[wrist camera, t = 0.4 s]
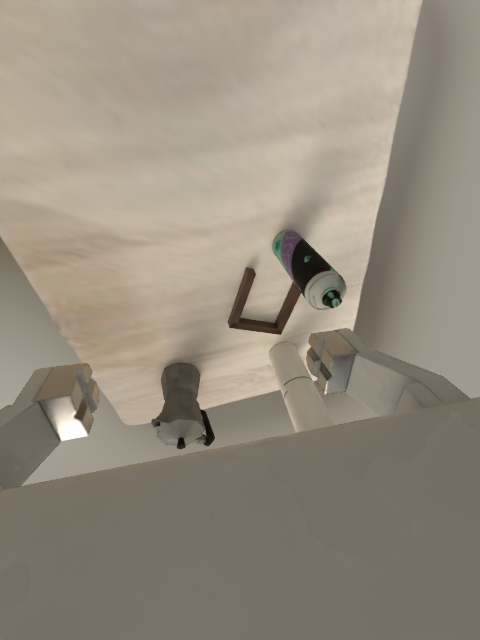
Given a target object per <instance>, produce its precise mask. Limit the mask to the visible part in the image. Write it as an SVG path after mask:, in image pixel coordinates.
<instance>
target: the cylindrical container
mask: <svg viewBox="0 0 480 640" xmlns="http://www.w3.org/2000/svg"><path fill="white" fill-rule="evenodd" d="M269 360H270V363H271V365H272V368H273V371H274V374H275V376H276V379H277V382H278V385H279V387H280V390H281V393H282V395H283V398H284V401H285V403H286V406H287V409H288V412H289V415H290V417H291V420H292V423H293V425H294V428H295V431H296V433H298V432H303V431H308V430H313V429H318V428H324V427H329V426H334V425H335V424H334V423H333V421H332V419H331V417H330V414H329V413H328V411H327V409H326V407H325V405H324V403H323V401H322V399H321V397H320V395H319V393H318V391H317V389H316V387H315V385H314V383H313V381H312V379H311V377H310V375H309V373H308V371H307V369H306V367H305V365H304V362H303V360H302V358H301V356H300V354H299V352H298V350H297V348H296V347H295V345H293V344H291V343H280V344H278V345H276V346H274V347H273V348H272V349H271V350H270V352H269Z"/></svg>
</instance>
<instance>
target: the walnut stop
mask: <svg viewBox="0 0 480 640" xmlns="http://www.w3.org/2000/svg"><path fill="white" fill-rule="evenodd" d="M255 275H256V273H255V271H254V269H250V268H246V270H245V273H244V276H243V279H242V282H241V285H240V288H239V291H238V294H237V297H236V300H235V303H234V306H233V309H232V312H231V315H230V318H229V321H228V324H229V328H235V329H242V330H250V331H257V332H265V333H272V334H279V335H281V333H282V331H283V329H284V327H285V325H286V323H287V321H288V319H289V317H290V315H291V313H292V311H293V308H294V306H295V304H296V302H297V300H298V298H299V296H300V294H301V292H300V290H299V289H298V287H297V286H296V284H295V283H294V282H293V284H292V286H291V289H290V291H289V293H288V295H287V298H286V300H285V302H284V304H283V306H282V309H281V311H280V313H279V315H278V317H277V320H276V322H275V323H269V322H263V321H256V320H249V319H242V318H240V316H241V314H242V311H243V308H244V305H245V303H246V300H247V297H248V294H249V292H250V289H251V286H252V283H253V281H254V278H255Z"/></svg>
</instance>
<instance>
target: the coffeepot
mask: <svg viewBox="0 0 480 640" xmlns="http://www.w3.org/2000/svg"><path fill="white" fill-rule="evenodd" d="M199 382H200V373H199V372H198V370H197V369H196V368H195V367H194V366H193V365H190V364H185V363H178V364H174V365H171V366H169V367H168V368H166V369H165V370H164V372H163V375H162V378H161V383H162V389H163V396H164V400H165V404H164V407H163V410H162V412H161V413H160V415H159V416H158V417H157V418H156V419H153V420H152V425H153V426H154V428H155V429H157V430H158V432H157V438H158V439H160V440H161V441H162V442H163V443H165V444H166V445H177V448H178V449H183V448H185V446H186V445H187V444H190V443H192V442H196V443H197V444H200V445H201V444H204V445H206V446H209V445H210V444H211V443H212V442H213V441H214V438H215V437H214V433H213V431H212V428H211V426H210V422H209V419H208V417H207V414H206V412H205V411H204V410H201V409H200V407H199V403H198V402H197V401H196V398H197V395H198V389H199ZM202 418H203V419H202ZM204 426H205V427H204ZM205 430H206V435H207V436H205V435H203V432H204V431H205Z"/></svg>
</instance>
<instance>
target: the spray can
mask: <svg viewBox="0 0 480 640" xmlns="http://www.w3.org/2000/svg"><path fill="white" fill-rule="evenodd" d="M272 248H273V252H274V254H275V255H276V257H277V258H278V260H279V261H280V263H281V264H282V265H283V267H284V268H285V270H286V271H287V273H288V274H289V276H290V277H291V279H292V280H293V281H294V283H295V284H296V286H297V287H298V289H299V290H300V292H301V293H302V294H303V296H304V297H305V299H306V300H307V302H308V303H309V304H310V305H311V306H312V307H313V308H315V309H318V310H325V309H329V308H335V307H337V306H338V305H340V304H341V302H342V298H343V297H344V295H345V292H346V283H345V281H344V280H343V278H342V277H341V276H340V275H339V274H338V273H337V272H336V271H335V270H334V269H333V268H332V267H331V266H330V265H329V264H328V263H327V262H326V261H325V260H324V259H323V258H322V257H321V256H320V255H319V254H318V253H317V252H316V251H315V250H314V249H313V248H312V247H311V246H310V245H309V244H308V243H307V242H306V241H305V240H304V239H303V238H302V237H301V236H300V235H299V234H298V233H297V232H295V231H293V230H286V231H283V232H281V233H279V234H278V235H277V236H276V238H275V239H274V241H273V246H272Z"/></svg>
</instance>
